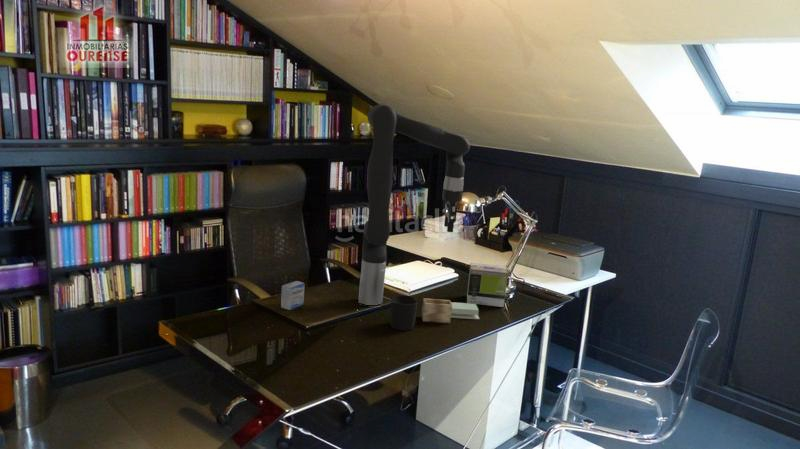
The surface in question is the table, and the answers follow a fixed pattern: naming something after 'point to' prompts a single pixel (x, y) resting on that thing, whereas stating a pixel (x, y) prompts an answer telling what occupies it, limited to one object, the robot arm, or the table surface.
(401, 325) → the pen holder
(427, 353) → the table surface
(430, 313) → the box
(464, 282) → the table surface
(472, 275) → the tea box
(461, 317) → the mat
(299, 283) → the medicine box
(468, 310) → the lid
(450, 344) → the table surface
